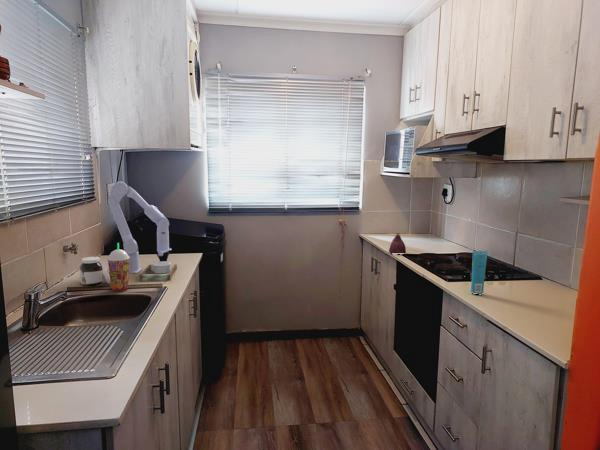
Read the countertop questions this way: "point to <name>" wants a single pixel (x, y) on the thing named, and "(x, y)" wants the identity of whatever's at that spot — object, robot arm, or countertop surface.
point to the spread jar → (92, 272)
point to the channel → (146, 277)
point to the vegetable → (397, 245)
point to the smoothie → (119, 269)
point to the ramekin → (161, 267)
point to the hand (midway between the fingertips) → (163, 266)
